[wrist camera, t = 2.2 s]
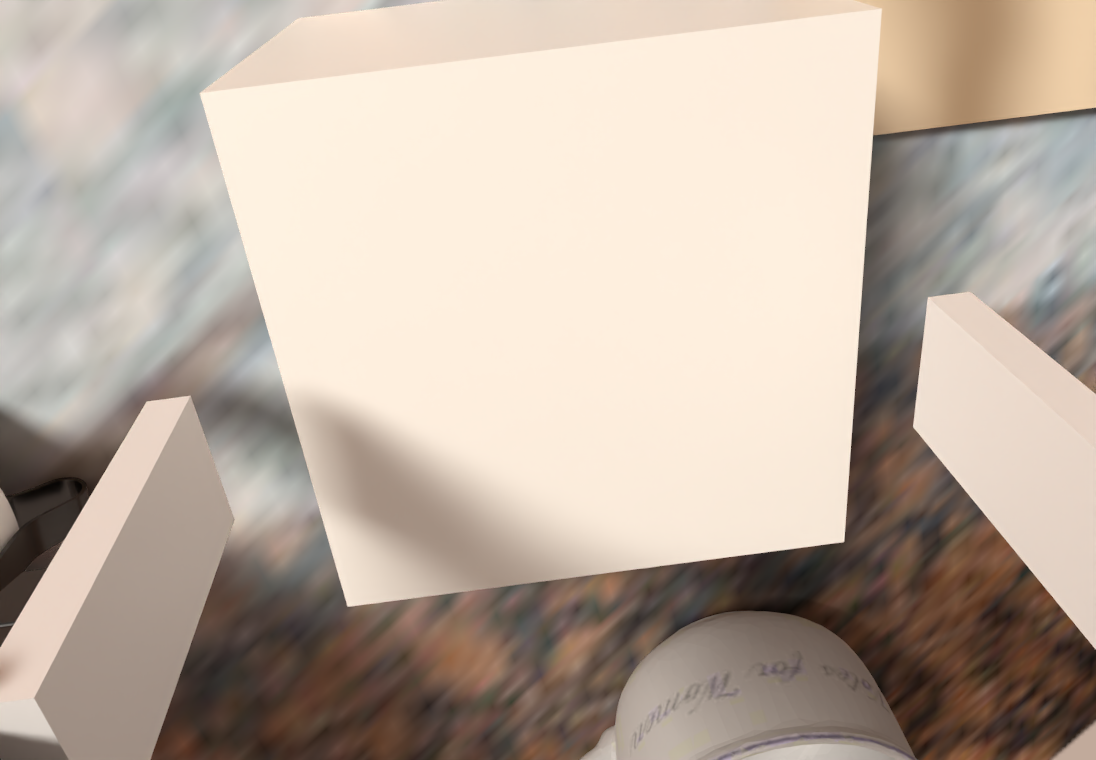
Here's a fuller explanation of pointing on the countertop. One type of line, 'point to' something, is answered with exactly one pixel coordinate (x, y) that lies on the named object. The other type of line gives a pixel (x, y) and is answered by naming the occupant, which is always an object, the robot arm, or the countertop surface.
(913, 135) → the countertop surface
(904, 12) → the board
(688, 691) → the teacup
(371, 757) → the countertop surface
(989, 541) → the countertop surface
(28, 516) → the coffee press
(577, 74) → the cover
